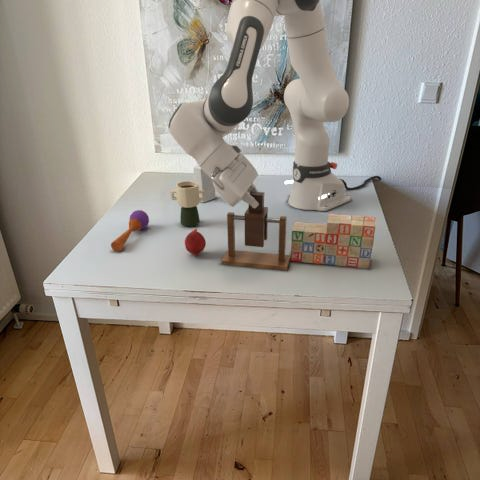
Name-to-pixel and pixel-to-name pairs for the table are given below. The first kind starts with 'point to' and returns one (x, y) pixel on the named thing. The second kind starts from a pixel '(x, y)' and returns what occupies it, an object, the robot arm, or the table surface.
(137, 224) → the kendama
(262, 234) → the brown stepped block
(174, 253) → the table surface
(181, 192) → the character mug
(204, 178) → the cosmetic box
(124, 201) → the table surface
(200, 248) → the onion
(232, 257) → the rail
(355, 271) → the table surface
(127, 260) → the table surface
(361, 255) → the stack of blocks
